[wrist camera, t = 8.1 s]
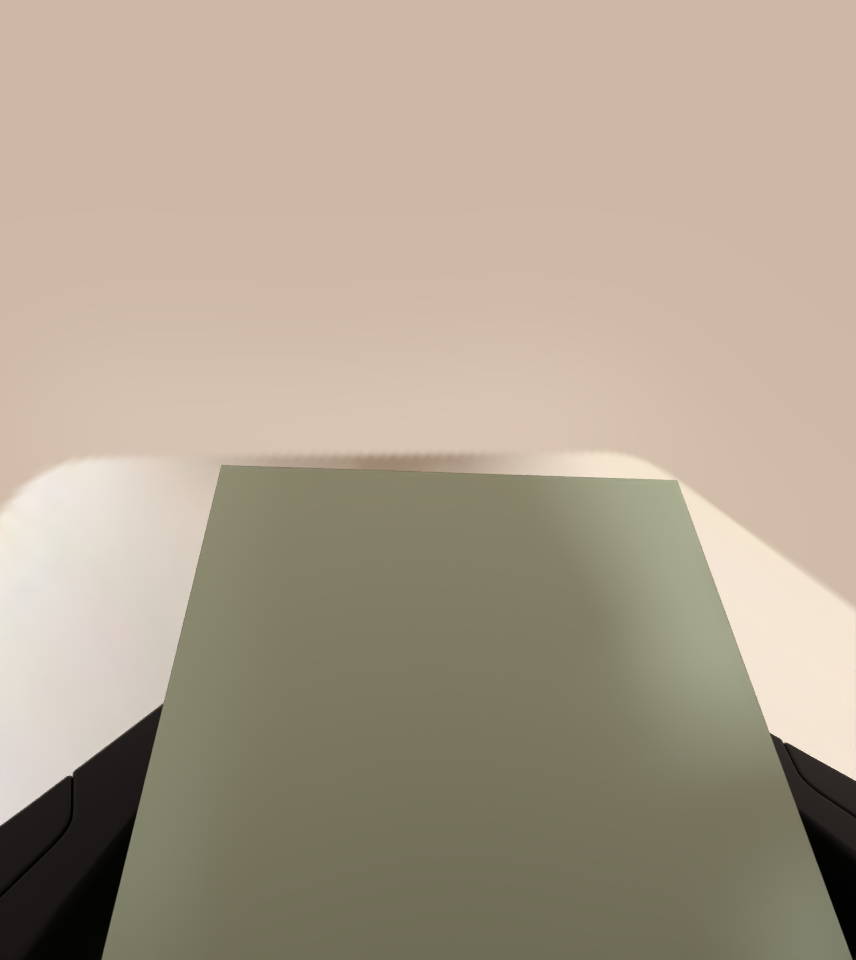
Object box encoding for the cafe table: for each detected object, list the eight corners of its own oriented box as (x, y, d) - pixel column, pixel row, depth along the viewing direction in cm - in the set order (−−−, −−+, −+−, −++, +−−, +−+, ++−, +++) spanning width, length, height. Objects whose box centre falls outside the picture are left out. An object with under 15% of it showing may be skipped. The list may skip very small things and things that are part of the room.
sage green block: (508, 844, 12) (952, 1238, 3) (296, 859, 12) (-16, 1438, 2) (487, 629, 15) (677, 480, 6) (317, 631, 15) (221, 465, 5)
